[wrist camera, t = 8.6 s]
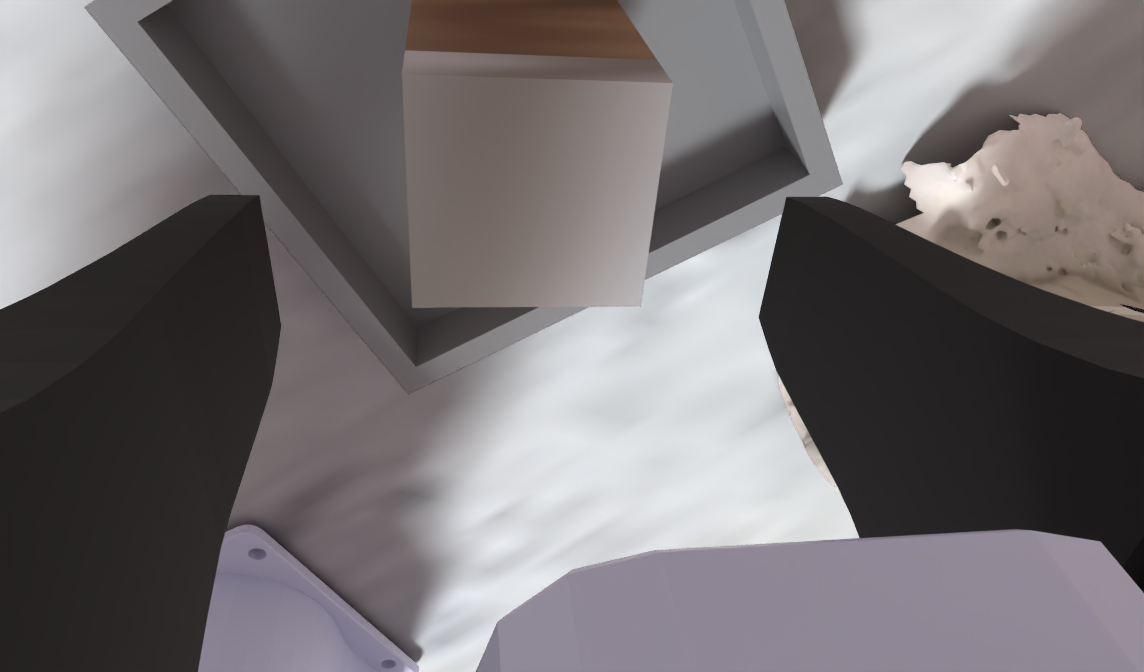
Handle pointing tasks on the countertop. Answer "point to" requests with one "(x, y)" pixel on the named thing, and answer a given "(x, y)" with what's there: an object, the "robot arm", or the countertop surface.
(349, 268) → the tray
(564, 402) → the countertop surface
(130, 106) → the countertop surface
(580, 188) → the beige brown box
